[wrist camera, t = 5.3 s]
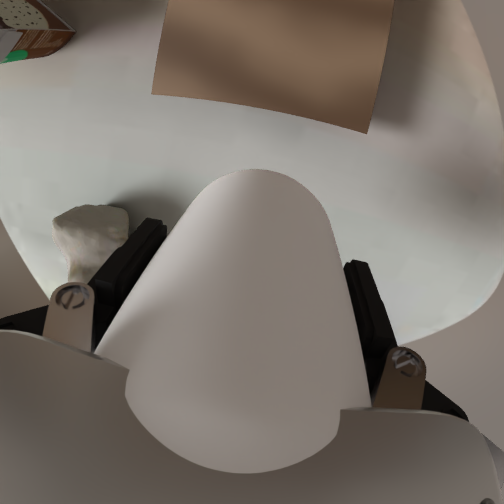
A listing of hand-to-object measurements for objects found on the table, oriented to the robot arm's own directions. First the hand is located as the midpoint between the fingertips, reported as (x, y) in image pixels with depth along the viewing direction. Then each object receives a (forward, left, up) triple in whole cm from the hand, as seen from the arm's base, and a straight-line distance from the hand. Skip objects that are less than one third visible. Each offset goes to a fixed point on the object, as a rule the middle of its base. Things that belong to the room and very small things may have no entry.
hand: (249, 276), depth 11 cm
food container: (-11, -25, -14) cm, 31 cm away
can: (0, 0, -3) cm, 3 cm away
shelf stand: (-14, -2, -14) cm, 20 cm away
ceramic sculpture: (+11, -12, -15) cm, 22 cm away
